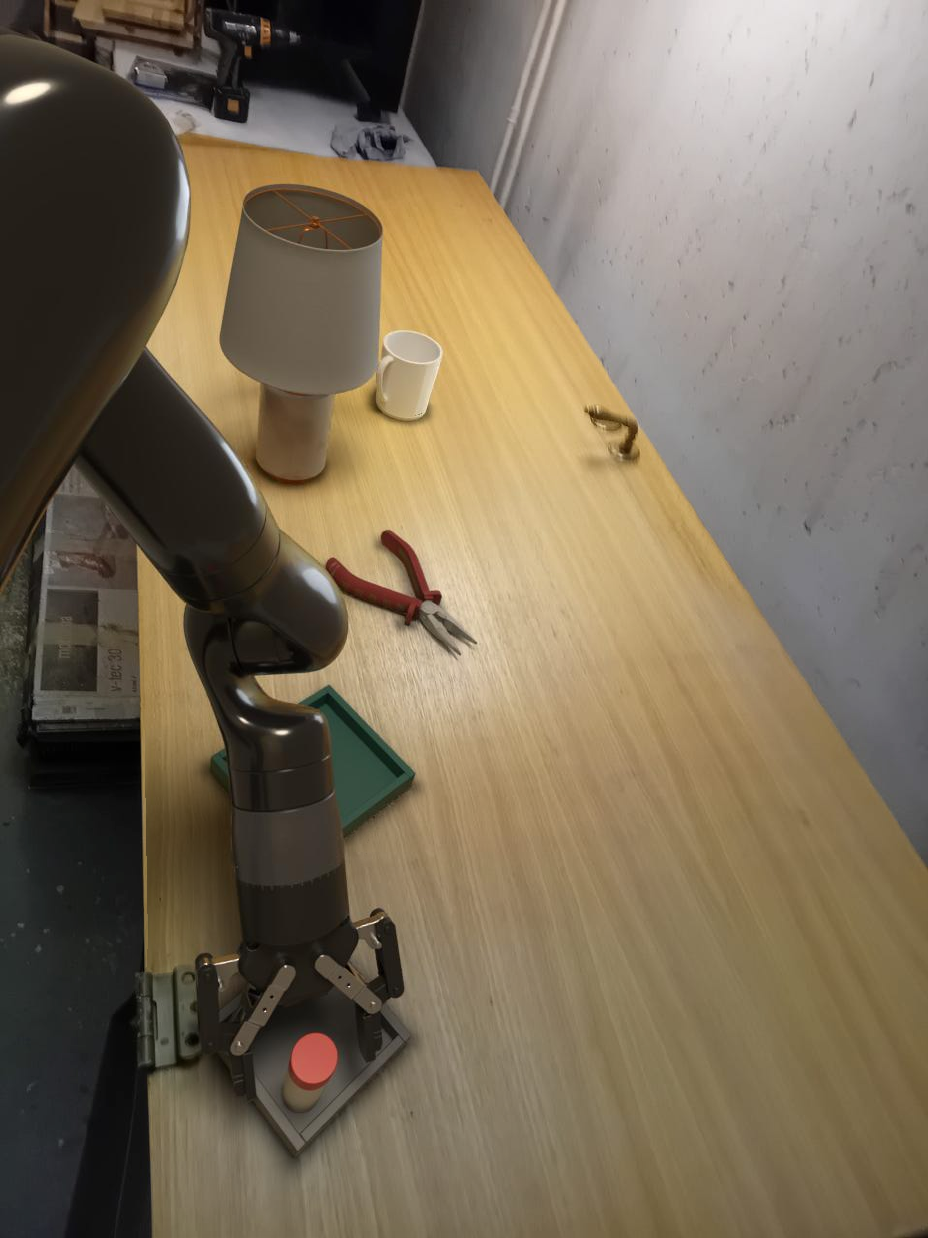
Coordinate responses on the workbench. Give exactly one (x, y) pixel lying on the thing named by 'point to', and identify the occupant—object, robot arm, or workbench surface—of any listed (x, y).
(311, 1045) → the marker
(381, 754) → the tray far
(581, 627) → the workbench surface
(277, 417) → the lamp
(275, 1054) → the tray near
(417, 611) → the pliers
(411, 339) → the mug
